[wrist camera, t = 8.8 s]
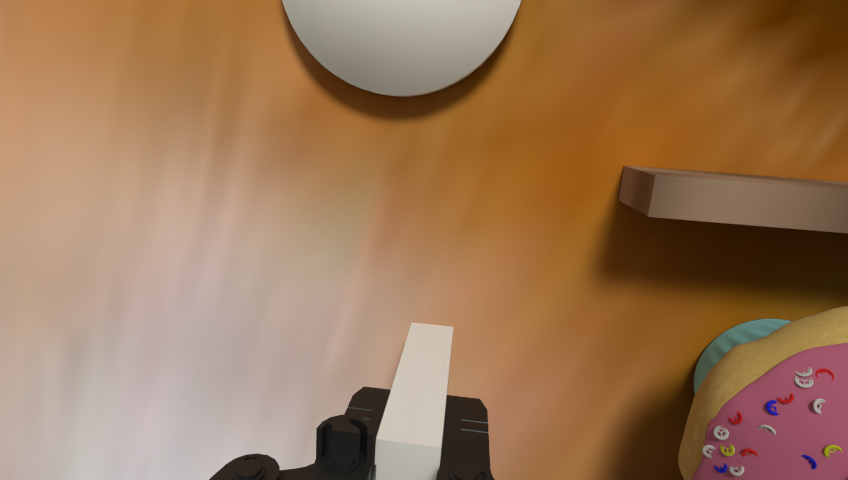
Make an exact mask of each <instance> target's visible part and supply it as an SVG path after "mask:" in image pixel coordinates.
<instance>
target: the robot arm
mask: <svg viewBox="0 0 848 480" xmlns="http://www.w3.org/2000/svg"><path fill="white" fill-rule="evenodd" d="M452 335H453V327H449V326H440V325H430V324H421V323H412V324H411V327H410V330H409V333H408V337H407V340H406V343H405V346H404V350H403V353H402V356H401V359H400V362H399V366H398V369H397V372H396V375H395V379H394V382H393V385H392V388H391V390H388V389H380V388H371V387H363V388H362V389H360V390H359V391H358V392H356V393H355V394H354V395H353V396H352V399H351V401H350V403H349V405H348V408H347V410H346V412H345V414H344V415H339V416H334V417H330V418H329V419H327V420H325V421H323V422H322V423H321V424H320V425H319V426H318V427H317V440H316V460H315V463H314V464H311V465H309V466H306V467H302V468H297V469H289V470H280V471H279V465H278V463H277V462H276V460H275V459H273V458H271V457H270V456H268V455H262V454H250V455H244V456H241V457H239V458H236V459H234V460H232V461H231V462H229V463H228V464H226V465H225V466H224V467H223V468H221V469H220V470H219V471H218V472H217V473H216V474H215V475H214V476H213V477H211V478H210V479H209V480H494V478H493V476H492V474H491V470H490V456H489V435H488V415H487V409H486V407H485V406H484V404H483V403H482V402H481V400H480V399H475V398H467V397H458V396H450V395H447V390H448V379H449V368H450V357H451V346H452Z"/></svg>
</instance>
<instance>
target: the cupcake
mask: <svg viewBox="0 0 848 480" xmlns="http://www.w3.org/2000/svg"><path fill="white" fill-rule="evenodd" d="M694 393H695V397H694V400H693V403H692V406H691V409H690V413H689V416H688V419H687V423H686V426H685V430H684V434H683V438H682V442H681V445H680V449H679V454H678V464H679V468H680V471H681V474H682V476H683V478H684V480H848V306H844V307H838V308H833V309H830V310H827V311H824V312H821V313H819V314H815V315H812V316H809V317H805V318H802V319H798V320H795V321H788V320H782V319H760V320H754V321H749V322H746V323H742V324H740V325H737V326H735V327H733V328H731V329H729V330H727V331H725V332H724V333H722V334H721V335H720V336H718V337H717V338H716V339H715V340H713V341H712V342H711V344H710V345H709V346H708V347H707V348H706V349H705V351H704V352H703V354H702V355H701V357H700V359H699V361H698V364H697V366H696V370H695V374H694Z"/></svg>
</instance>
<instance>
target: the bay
mask: <svg viewBox="0 0 848 480" xmlns="http://www.w3.org/2000/svg"><path fill="white" fill-rule="evenodd" d="M618 201H620V202H622V203H624V204H626V205H627V206H629V207H631V208H633V209H635V210H636V211H638V212H640V213H642V214H644V215H645V216H647V217H656V218H668V219H680V220H692V221H704V222H716V223H729V224H741V225H753V226H765V227H777V228H789V229H801V230H813V231H825V232H837V233H848V182H836V181H823V180H809V179H796V178H782V177H769V176H755V175H741V174H728V173H714V172H701V171H687V170H674V169H660V168H646V167H633V166H624V169H623V175H622V181H621V187H620V193H619V199H618Z"/></svg>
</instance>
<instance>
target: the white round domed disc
mask: <svg viewBox="0 0 848 480" xmlns="http://www.w3.org/2000/svg"><path fill="white" fill-rule="evenodd" d="M282 2H283V5H284V8H285V11H286V13H287V15H288V18H289V20H290V22H291V25H292V27H293V28H294V30H295V32H296V33H297V35H298V37H299V39H300V40H301V42H302V43H303V44H304V45H305V47H306V48H307V49H308V51H309V52H310V53H311V54H312V55H313V56H314V57H315V58H316V59H317V60H318V62H319V63H320V64H321V65H323V66H324V67H325V68H326V69H328V70H329V71H330V72H331V73H333V74H334V75H335V76H337V77H339V78H340V79H342V80H344V81H346V82H347V83H349V84H352V85H354V86H356V87H359V88H361V89H364V90H367V91H371V92H374V93H378V94H382V95H389V96H396V97H410V96H418V95H425V94H429V93H433V92H436V91H440V90H442V89H445V88H447V87H449V86H452V85H454V84H456V83H457V82H459V81H461V80H462V79H464V78H466V77H467V76H469V75H470V74H471V73H473V72H474V71H475V70H476V69H478V68H479V67H480V66H481V65H482V64H483V63H484V62H485V61H486V60H487V59H488V58H489V57H490V56H491V55H492V54H493V53H494V51H495V50H496V49H497V47H498V46H499V45H500V43H501V42H502V41H503V39H504V37H505V35H506V34H507V32H508V30H509V29H510V27H511V25H512V23H513V20H514V18H515V16H516V13H517V11H518V8H519V6H520V3H521V0H282Z"/></svg>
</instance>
